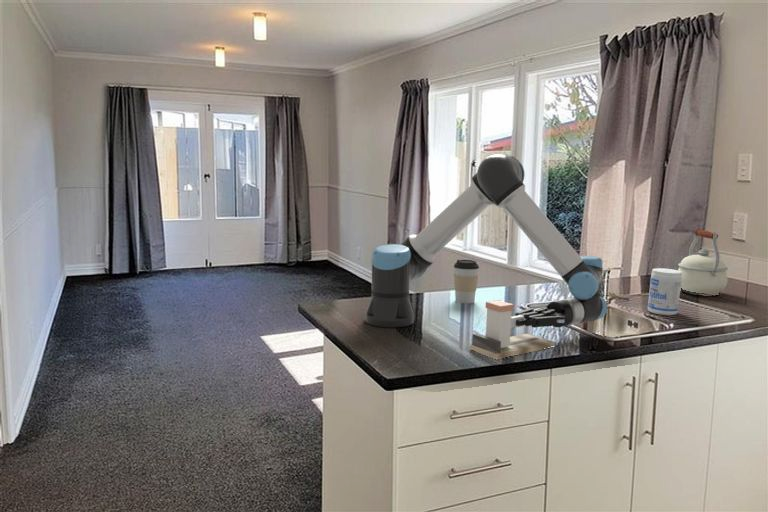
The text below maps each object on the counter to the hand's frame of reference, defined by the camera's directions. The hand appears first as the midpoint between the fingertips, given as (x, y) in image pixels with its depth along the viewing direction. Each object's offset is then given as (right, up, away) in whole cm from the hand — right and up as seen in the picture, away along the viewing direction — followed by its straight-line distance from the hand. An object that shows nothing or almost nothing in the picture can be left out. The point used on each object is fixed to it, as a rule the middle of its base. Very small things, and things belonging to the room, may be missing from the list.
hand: (504, 323), depth 169 cm
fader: (-2, -6, 0) cm, 6 cm away
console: (+3, -7, +3) cm, 8 cm away
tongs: (+56, +2, +73) cm, 92 cm away
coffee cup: (-3, +1, +59) cm, 59 cm away
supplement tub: (+64, -2, +49) cm, 80 cm away
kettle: (+93, +3, +85) cm, 126 cm away
